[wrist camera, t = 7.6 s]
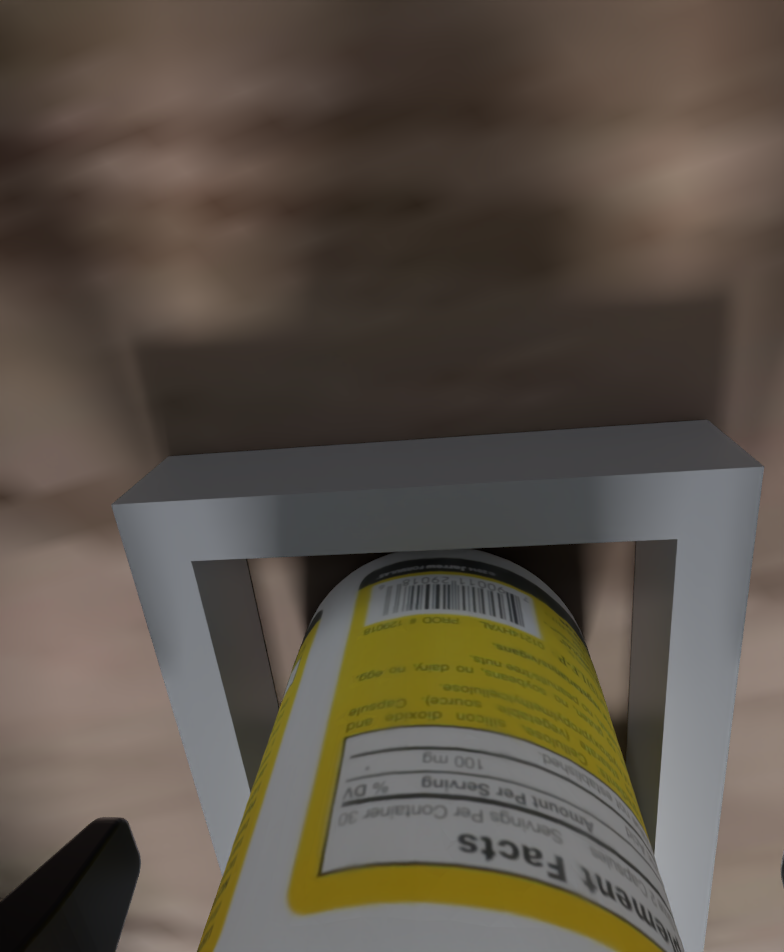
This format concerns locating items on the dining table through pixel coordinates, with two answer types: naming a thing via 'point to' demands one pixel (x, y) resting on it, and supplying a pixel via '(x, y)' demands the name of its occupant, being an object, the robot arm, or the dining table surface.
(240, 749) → the bottle holder
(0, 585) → the dining table surface
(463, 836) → the supplement bottle
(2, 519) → the dining table surface
